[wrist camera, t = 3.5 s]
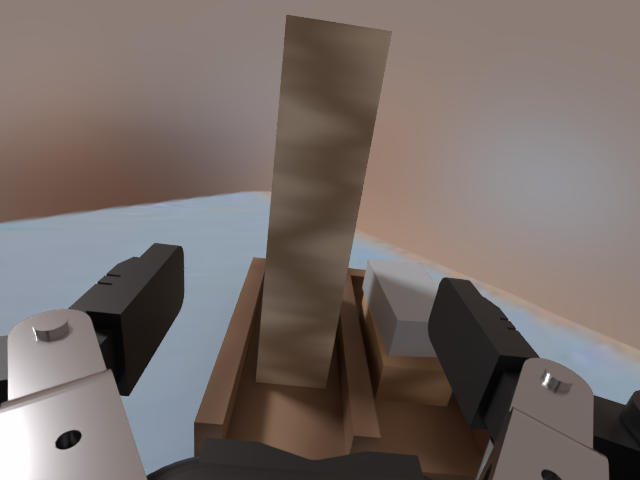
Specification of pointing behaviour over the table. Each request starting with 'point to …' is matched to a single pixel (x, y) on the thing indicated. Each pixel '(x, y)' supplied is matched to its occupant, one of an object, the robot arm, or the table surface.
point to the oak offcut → (401, 370)
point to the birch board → (316, 191)
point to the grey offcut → (401, 305)
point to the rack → (328, 400)
